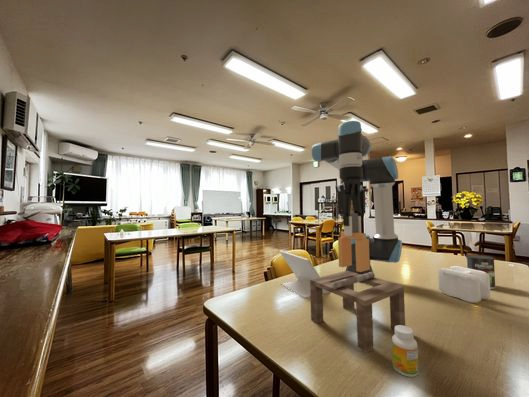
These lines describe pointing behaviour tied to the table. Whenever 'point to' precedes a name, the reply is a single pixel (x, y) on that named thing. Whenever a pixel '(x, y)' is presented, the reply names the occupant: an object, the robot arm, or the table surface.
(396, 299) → the cutout shelf
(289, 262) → the tablet stand
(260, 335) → the table surface
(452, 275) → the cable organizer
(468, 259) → the coffee can
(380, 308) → the table surface
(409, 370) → the supplement bottle
